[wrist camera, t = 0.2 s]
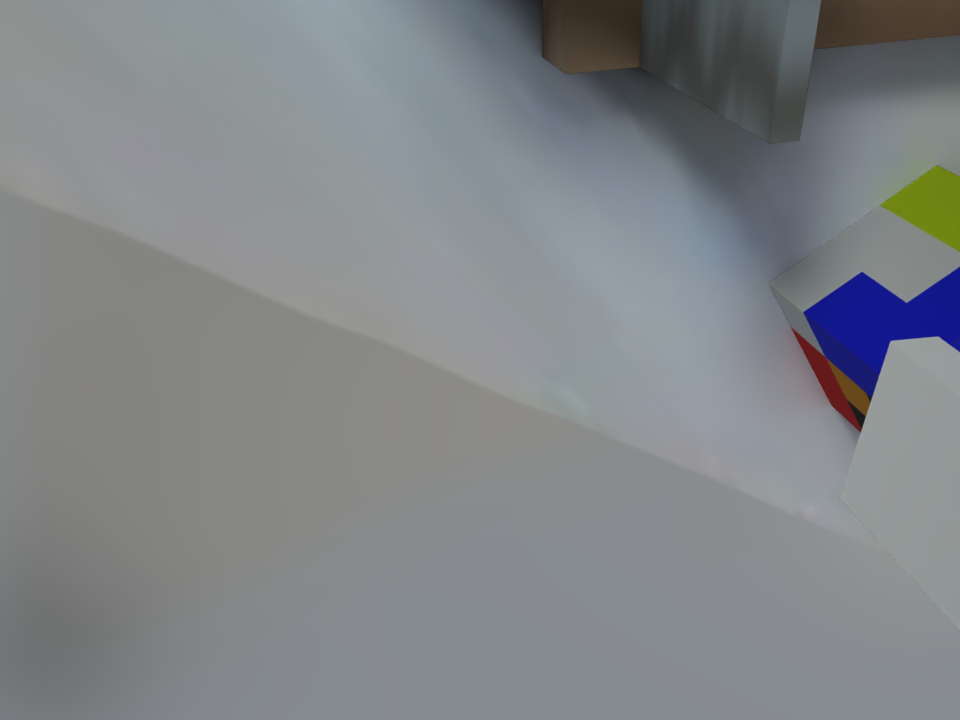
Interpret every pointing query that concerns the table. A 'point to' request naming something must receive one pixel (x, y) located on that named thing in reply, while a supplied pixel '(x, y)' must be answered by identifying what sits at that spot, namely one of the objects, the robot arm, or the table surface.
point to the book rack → (732, 46)
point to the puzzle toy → (877, 289)
